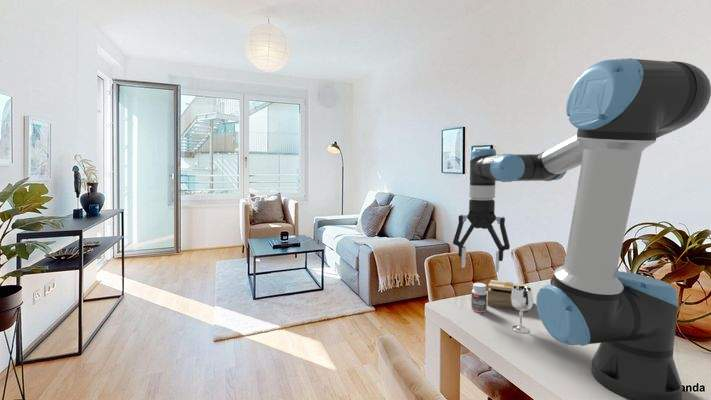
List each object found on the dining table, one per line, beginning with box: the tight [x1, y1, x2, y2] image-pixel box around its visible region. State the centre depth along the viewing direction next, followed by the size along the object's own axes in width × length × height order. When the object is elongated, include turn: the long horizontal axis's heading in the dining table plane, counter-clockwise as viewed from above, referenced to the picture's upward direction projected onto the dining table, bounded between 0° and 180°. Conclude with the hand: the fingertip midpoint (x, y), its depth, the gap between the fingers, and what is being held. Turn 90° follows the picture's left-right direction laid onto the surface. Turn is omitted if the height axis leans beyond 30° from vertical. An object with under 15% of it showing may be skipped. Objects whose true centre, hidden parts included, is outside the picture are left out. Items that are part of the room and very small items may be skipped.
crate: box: [487, 288, 528, 313], centre depth 118 cm, size 10×12×5 cm
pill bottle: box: [470, 282, 488, 314], centre depth 113 cm, size 5×5×8 cm
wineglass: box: [510, 286, 534, 334], centre depth 99 cm, size 6×6×12 cm
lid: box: [487, 279, 530, 291], centre depth 118 cm, size 10×12×1 cm
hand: (479, 268), depth 112 cm, fingers open, 9 cm apart
